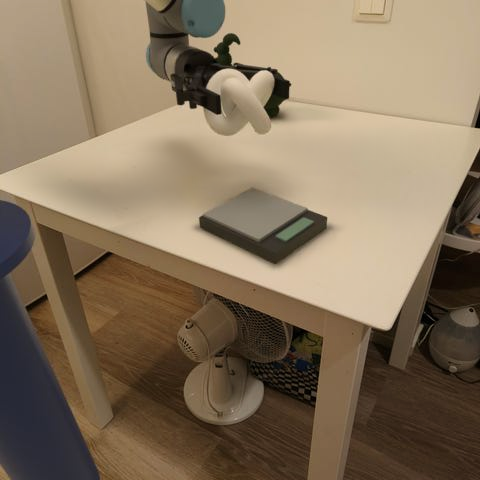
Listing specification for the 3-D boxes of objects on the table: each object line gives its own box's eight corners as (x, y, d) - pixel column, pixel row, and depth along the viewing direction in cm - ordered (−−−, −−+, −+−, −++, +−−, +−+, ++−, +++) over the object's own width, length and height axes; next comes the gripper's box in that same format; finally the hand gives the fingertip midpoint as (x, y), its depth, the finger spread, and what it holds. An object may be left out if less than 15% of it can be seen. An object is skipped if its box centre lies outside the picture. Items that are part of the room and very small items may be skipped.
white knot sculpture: (239, 113, 82) (237, 59, 76) (294, 126, 76) (297, 68, 70) (196, 132, 75) (191, 74, 70) (254, 147, 69) (252, 85, 63)
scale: (199, 227, 74) (198, 213, 72) (252, 198, 81) (252, 185, 80) (275, 264, 65) (275, 249, 64) (326, 227, 72) (327, 213, 71)
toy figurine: (212, 113, 124) (279, 125, 108) (202, 36, 114) (274, 36, 98) (237, 105, 129) (304, 115, 113) (229, 30, 119) (302, 29, 103)
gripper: (248, 80, 91) (314, 107, 76) (135, 103, 82) (186, 138, 67) (247, 39, 86) (318, 59, 71) (127, 57, 77) (180, 85, 62)
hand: (254, 97), depth 69 cm, fingers closed on white knot sculpture, 12 cm apart
